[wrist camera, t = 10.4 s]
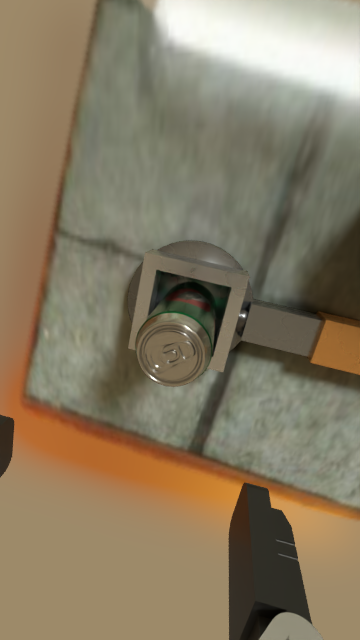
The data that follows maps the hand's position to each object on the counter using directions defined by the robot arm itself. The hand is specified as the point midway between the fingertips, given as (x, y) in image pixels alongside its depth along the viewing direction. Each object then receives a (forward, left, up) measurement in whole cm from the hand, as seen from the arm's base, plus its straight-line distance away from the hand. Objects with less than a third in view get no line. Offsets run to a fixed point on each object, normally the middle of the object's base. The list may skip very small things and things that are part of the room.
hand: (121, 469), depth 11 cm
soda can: (0, 0, -22) cm, 22 cm away
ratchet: (-8, 0, -23) cm, 25 cm away
